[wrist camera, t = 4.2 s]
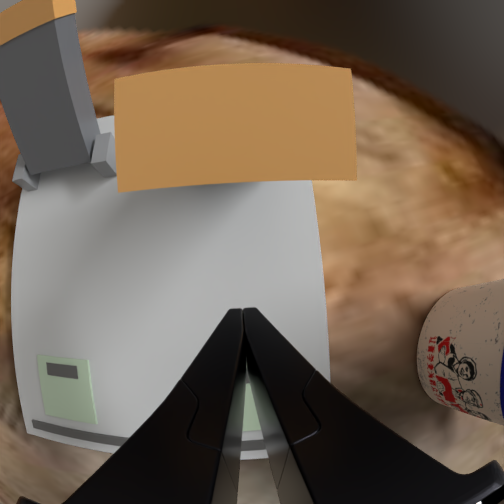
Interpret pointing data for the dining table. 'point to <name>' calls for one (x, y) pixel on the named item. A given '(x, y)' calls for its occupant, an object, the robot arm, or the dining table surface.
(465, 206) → the dining table surface
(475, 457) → the dining table surface
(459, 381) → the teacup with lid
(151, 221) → the switch unit
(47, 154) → the block
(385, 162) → the dining table surface
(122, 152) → the rocker
